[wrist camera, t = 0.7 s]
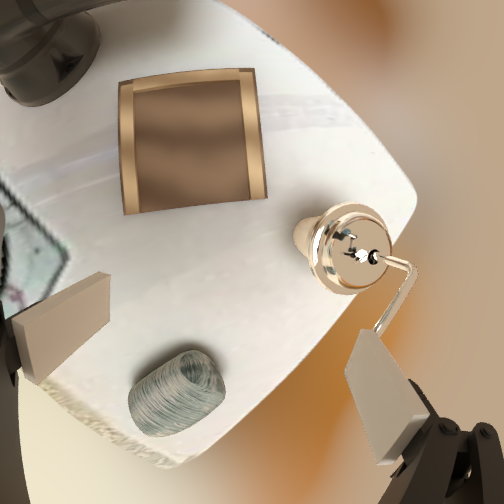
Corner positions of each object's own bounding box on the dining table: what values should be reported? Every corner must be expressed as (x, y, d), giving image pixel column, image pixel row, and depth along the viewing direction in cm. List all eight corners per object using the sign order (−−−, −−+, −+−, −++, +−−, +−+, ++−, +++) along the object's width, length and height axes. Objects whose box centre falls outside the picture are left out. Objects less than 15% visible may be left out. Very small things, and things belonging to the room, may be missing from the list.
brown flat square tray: (121, 85, 27) (116, 79, 25) (252, 72, 29) (255, 65, 27) (126, 215, 30) (122, 215, 28) (265, 198, 32) (269, 198, 30)
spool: (189, 327, 30) (199, 413, 23) (233, 356, 36) (248, 425, 29) (111, 362, 32) (110, 432, 25) (158, 384, 38) (163, 444, 31)
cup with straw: (347, 256, 35) (467, 305, 16) (284, 281, 34) (376, 367, 15) (331, 192, 34) (459, 191, 14) (263, 214, 33) (354, 235, 13)
